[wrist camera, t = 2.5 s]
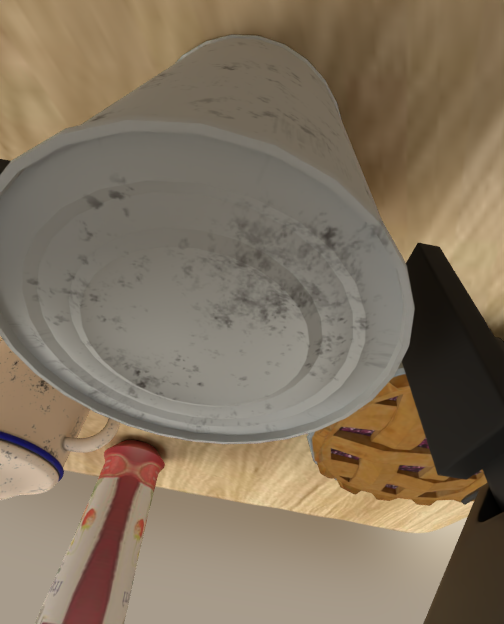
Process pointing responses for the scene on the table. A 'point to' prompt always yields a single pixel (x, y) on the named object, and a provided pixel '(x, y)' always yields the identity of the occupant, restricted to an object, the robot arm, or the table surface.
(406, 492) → the pie
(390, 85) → the table surface
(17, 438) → the teacup with lid
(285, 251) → the tin can
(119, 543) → the liquor
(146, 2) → the table surface
